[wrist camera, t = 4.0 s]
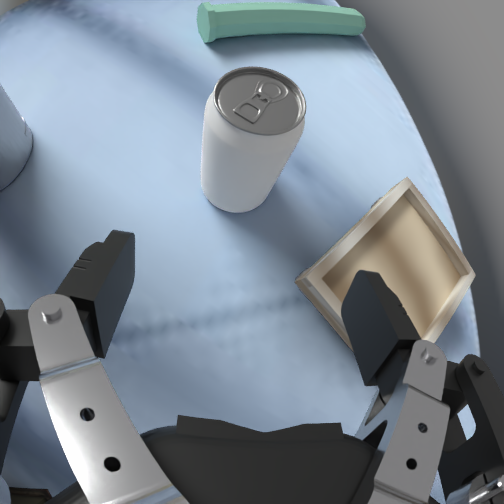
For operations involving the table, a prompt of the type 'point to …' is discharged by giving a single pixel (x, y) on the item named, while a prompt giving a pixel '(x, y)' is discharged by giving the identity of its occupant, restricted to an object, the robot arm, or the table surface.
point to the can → (249, 136)
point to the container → (275, 20)
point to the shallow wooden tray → (394, 263)
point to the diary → (29, 495)
